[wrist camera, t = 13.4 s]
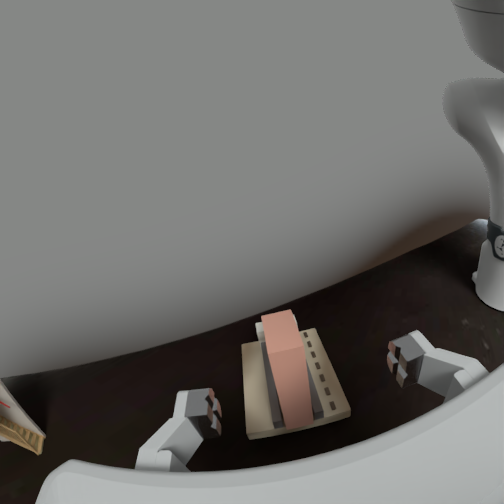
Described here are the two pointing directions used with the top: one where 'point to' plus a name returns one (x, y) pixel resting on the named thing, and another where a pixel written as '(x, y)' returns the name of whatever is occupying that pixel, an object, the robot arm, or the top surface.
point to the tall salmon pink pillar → (288, 368)
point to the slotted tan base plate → (265, 393)
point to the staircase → (18, 424)
